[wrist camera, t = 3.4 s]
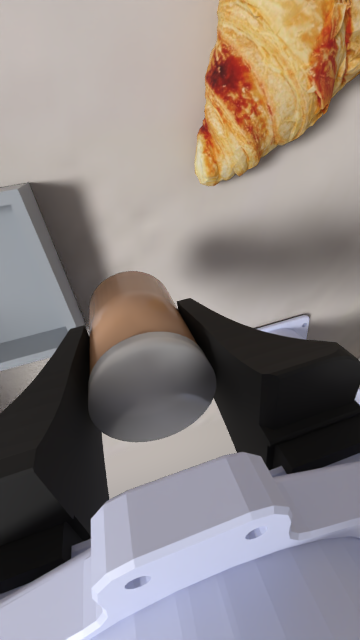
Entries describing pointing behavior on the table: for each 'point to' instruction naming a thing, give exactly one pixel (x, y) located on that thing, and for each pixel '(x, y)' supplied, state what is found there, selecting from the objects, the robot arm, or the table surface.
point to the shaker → (143, 362)
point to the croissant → (272, 77)
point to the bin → (30, 283)
